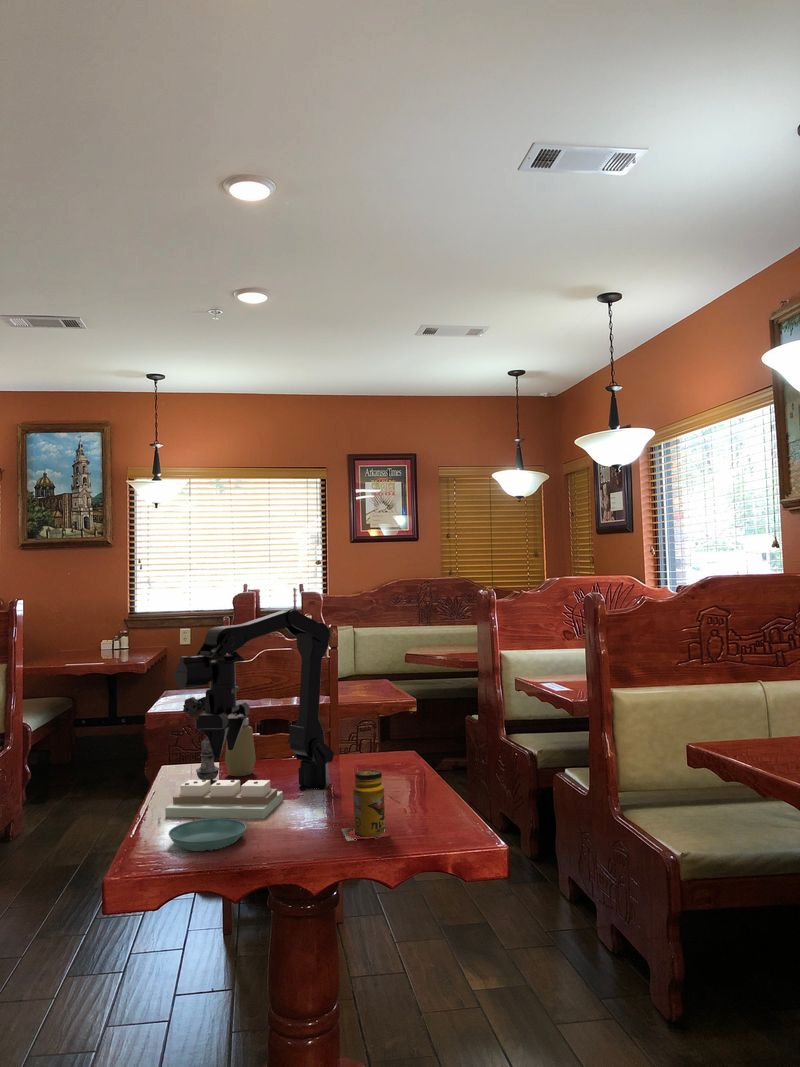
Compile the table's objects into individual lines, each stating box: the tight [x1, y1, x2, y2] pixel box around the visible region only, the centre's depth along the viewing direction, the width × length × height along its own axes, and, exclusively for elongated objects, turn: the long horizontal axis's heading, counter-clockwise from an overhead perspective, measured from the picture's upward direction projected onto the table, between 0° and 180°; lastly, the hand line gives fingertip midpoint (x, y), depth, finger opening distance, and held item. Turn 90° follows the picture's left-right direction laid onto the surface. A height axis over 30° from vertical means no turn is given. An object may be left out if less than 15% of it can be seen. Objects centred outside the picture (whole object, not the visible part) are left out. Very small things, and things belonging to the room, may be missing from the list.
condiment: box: [341, 768, 386, 842], centre depth 158 cm, size 7×8×12 cm
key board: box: [164, 788, 284, 819], centre depth 178 cm, size 22×14×3 cm, turn 82°
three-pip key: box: [179, 779, 211, 796], centre depth 179 cm, size 5×5×3 cm
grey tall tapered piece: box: [195, 735, 221, 785], centre depth 201 cm, size 6×6×12 cm
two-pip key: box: [211, 779, 241, 797], centre depth 178 cm, size 5×5×3 cm
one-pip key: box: [240, 779, 271, 797], centre depth 178 cm, size 5×5×3 cm
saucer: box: [168, 818, 247, 852], centre depth 156 cm, size 15×15×3 cm
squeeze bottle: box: [224, 714, 257, 777], centre depth 210 cm, size 8×8×18 cm
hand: (224, 754), depth 179 cm, fingers open, 8 cm apart
